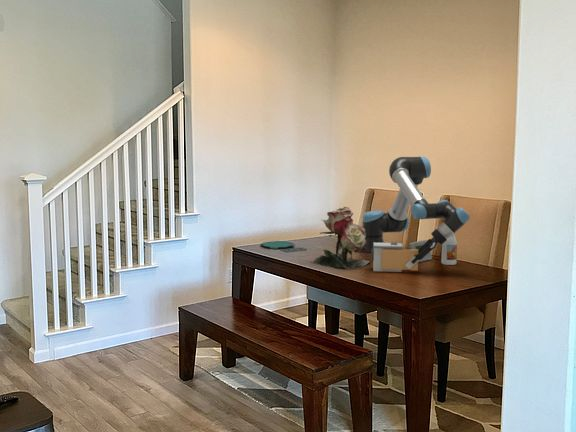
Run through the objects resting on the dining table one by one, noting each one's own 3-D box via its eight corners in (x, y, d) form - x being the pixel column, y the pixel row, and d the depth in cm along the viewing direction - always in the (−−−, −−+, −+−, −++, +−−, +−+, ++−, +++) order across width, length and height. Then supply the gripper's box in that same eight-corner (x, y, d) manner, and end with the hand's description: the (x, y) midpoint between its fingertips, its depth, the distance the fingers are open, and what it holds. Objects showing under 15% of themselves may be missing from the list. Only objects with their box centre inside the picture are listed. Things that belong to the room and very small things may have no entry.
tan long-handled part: (417, 269, 298) (417, 249, 297) (417, 270, 295) (418, 250, 294) (381, 268, 300) (382, 248, 299) (381, 269, 297) (382, 249, 296)
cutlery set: (282, 243, 384) (282, 239, 384) (309, 251, 359) (309, 247, 359) (255, 246, 373) (255, 242, 373) (281, 254, 348) (281, 251, 348)
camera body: (400, 268, 308) (401, 241, 306) (402, 272, 297) (402, 244, 296) (371, 267, 310) (371, 240, 308) (371, 271, 299) (372, 244, 297)
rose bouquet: (353, 271, 301) (354, 211, 297) (309, 263, 320) (309, 207, 317) (382, 263, 320) (383, 207, 316) (338, 256, 339) (339, 203, 336)
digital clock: (414, 264, 319) (414, 244, 318) (402, 261, 327) (403, 241, 325) (436, 260, 327) (437, 241, 326) (424, 258, 335) (425, 239, 333)
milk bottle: (440, 264, 317) (441, 227, 314) (442, 262, 324) (443, 225, 321) (455, 265, 314) (457, 227, 311) (456, 263, 321) (458, 225, 319)
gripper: (449, 242, 285) (413, 275, 289) (445, 236, 301) (410, 268, 305) (438, 230, 285) (402, 264, 289) (434, 226, 301) (400, 257, 305)
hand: (406, 266), depth 297 cm, fingers closed on tan long-handled part, 3 cm apart
